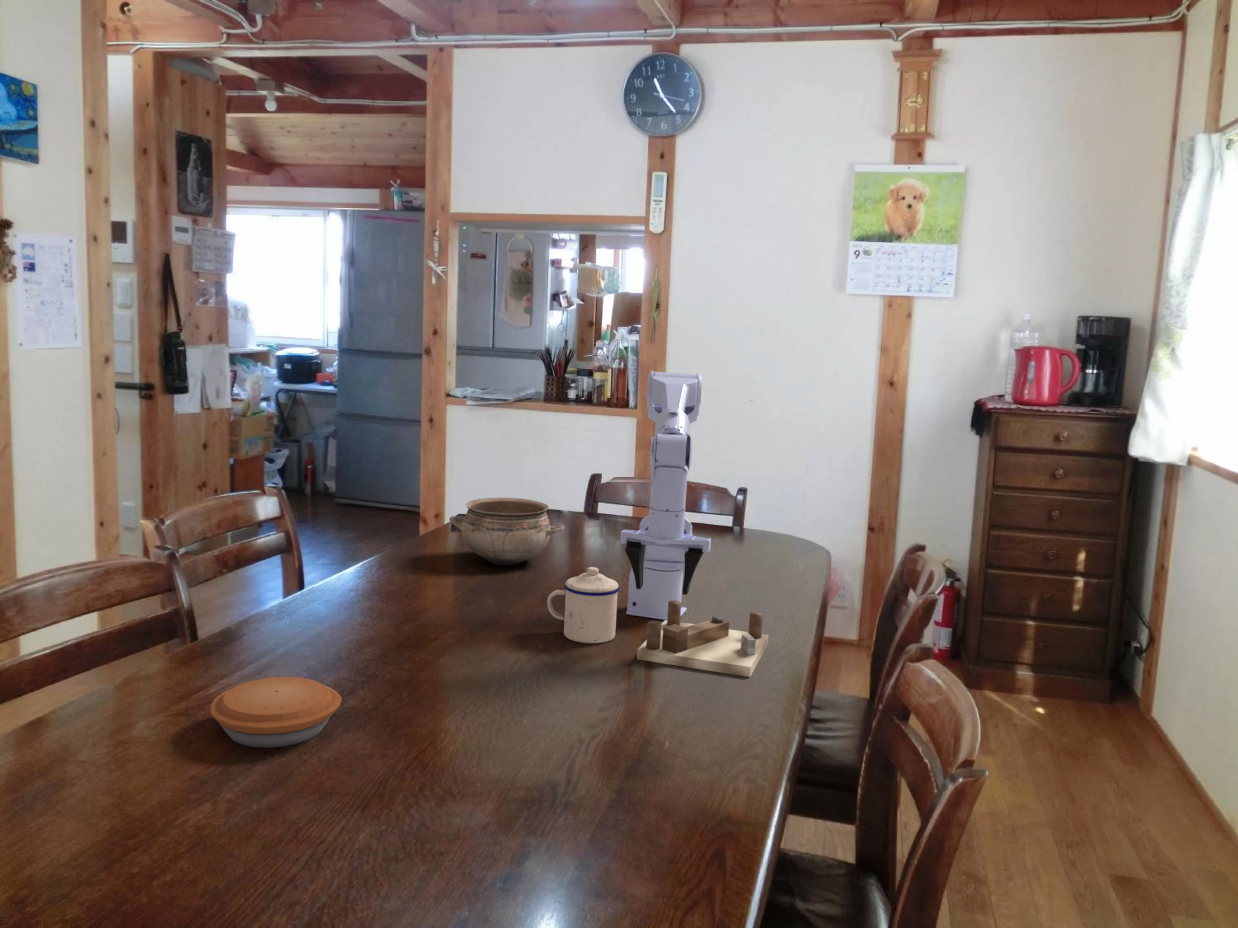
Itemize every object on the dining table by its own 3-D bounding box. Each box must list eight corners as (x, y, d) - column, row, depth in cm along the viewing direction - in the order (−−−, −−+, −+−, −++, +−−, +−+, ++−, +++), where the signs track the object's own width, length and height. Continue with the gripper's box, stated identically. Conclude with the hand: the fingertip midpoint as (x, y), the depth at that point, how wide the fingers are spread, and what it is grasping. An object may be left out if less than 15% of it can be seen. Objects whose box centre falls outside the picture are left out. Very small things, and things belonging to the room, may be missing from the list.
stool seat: (636, 659, 158) (638, 624, 157) (664, 628, 174) (666, 597, 174) (750, 676, 153) (752, 641, 152) (767, 644, 169) (770, 611, 168)
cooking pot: (571, 556, 222) (573, 502, 220) (553, 577, 204) (556, 518, 202) (461, 546, 226) (463, 493, 224) (434, 567, 207) (436, 508, 205)
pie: (266, 768, 116) (266, 726, 115) (183, 732, 124) (182, 694, 123) (366, 725, 128) (367, 688, 128) (285, 696, 137) (285, 660, 136)
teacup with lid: (620, 630, 172) (624, 564, 171) (611, 647, 163) (615, 577, 162) (552, 623, 174) (555, 557, 173) (539, 639, 165) (542, 570, 164)
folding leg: (714, 631, 169) (716, 611, 168) (728, 635, 167) (729, 615, 167) (661, 648, 159) (663, 627, 158) (675, 653, 157) (677, 631, 156)
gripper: (617, 508, 159) (613, 591, 161) (708, 517, 156) (702, 601, 158) (627, 500, 166) (623, 580, 168) (714, 509, 163) (709, 590, 165)
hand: (662, 590), depth 164 cm, fingers open, 7 cm apart
